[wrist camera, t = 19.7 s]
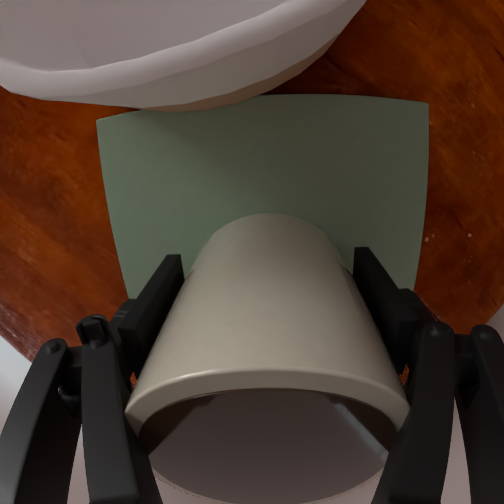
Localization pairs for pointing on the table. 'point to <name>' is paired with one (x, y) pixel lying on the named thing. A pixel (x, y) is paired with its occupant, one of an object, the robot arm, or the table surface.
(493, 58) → the table surface
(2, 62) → the bowl
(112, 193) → the mat
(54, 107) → the table surface
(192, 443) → the tumbler
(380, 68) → the table surface
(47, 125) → the table surface
